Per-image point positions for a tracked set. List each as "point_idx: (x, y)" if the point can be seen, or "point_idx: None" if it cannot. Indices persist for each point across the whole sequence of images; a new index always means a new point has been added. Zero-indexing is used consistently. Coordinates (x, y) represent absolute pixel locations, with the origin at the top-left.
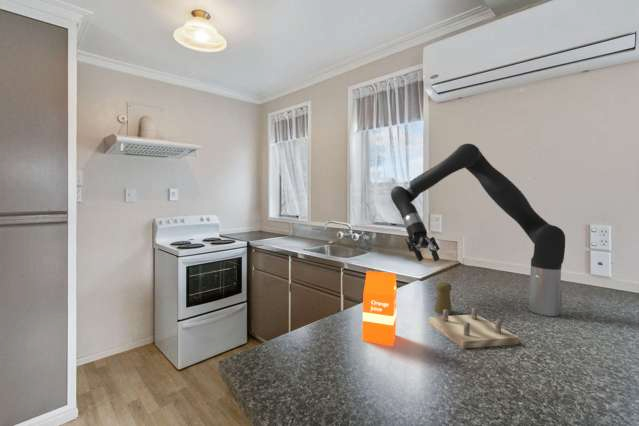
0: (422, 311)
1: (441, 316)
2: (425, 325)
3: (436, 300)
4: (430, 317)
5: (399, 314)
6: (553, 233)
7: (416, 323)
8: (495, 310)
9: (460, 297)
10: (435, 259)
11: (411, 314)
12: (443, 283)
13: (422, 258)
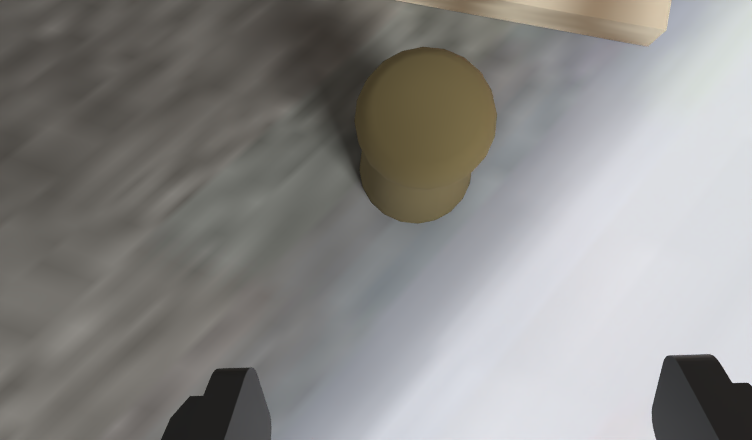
0: (552, 219)
1: (578, 11)
2: (694, 24)
3: (464, 178)
4: (662, 22)
5: (748, 228)
6: None
7: (730, 66)
8: (55, 64)
9: (41, 362)
10: (258, 432)
11: (665, 200)
12: (454, 87)
13: (695, 358)
